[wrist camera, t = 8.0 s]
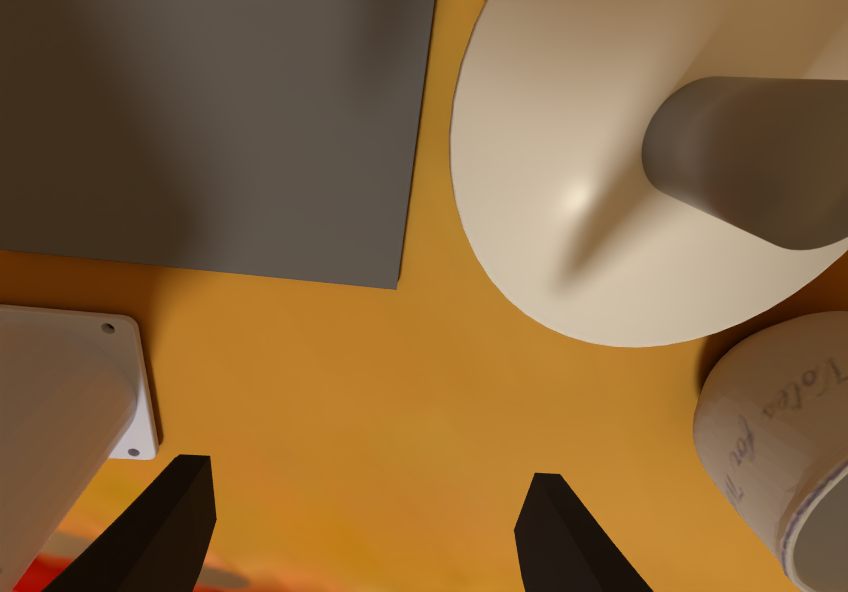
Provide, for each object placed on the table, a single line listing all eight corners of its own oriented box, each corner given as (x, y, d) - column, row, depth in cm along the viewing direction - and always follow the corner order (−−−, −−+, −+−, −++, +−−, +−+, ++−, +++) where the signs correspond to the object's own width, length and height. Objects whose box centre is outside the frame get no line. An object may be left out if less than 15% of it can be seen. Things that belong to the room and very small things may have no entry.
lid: (417, 318, 14) (427, 419, 10) (513, -273, 8) (628, -598, 4) (775, 352, 16) (909, 452, 12) (1066, -122, 10) (1537, -253, 6)
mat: (3, 245, 17) (-5, 248, 16) (-186, -373, 10) (-206, -389, 10) (396, 285, 19) (396, 289, 18) (461, -213, 12) (463, -221, 11)
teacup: (707, 275, 19) (889, 395, 12) (927, 283, 20) (1214, 398, 13) (621, 491, 26) (709, 652, 19) (792, 489, 27) (937, 642, 20)
